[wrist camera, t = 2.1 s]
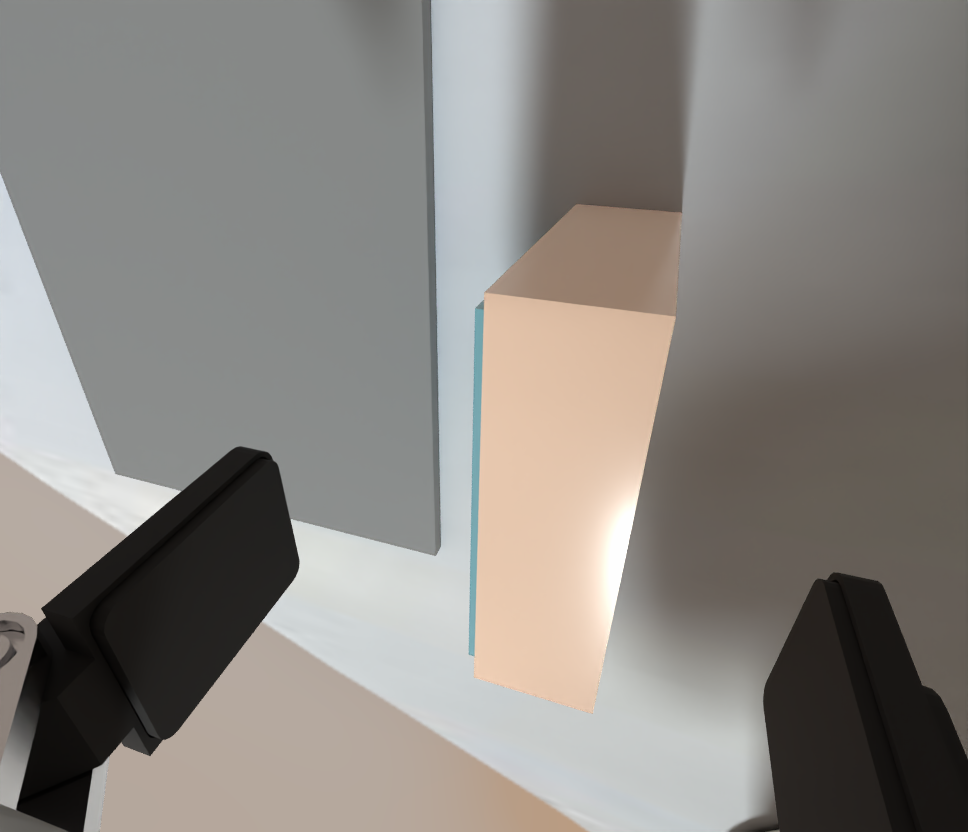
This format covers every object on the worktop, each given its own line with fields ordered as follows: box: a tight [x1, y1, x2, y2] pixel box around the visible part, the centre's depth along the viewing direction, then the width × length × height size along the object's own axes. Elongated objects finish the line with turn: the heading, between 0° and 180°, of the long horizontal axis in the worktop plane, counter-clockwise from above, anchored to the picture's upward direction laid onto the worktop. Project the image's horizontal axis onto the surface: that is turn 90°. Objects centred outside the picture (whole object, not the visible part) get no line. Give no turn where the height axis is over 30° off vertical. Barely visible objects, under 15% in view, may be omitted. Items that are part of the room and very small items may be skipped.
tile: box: [469, 204, 682, 714], centre depth 15 cm, size 10×3×9 cm, turn 178°
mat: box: [0, 0, 441, 556], centre depth 22 cm, size 22×18×1 cm
